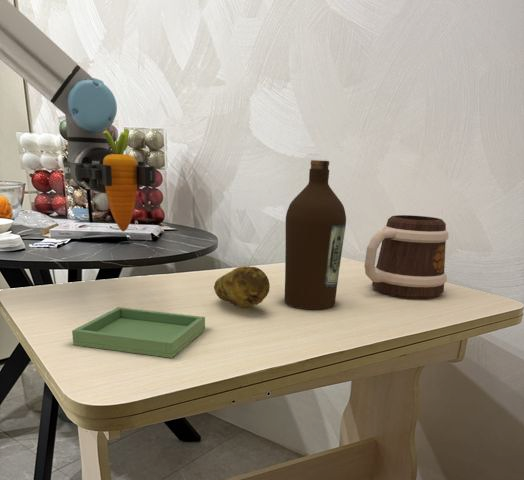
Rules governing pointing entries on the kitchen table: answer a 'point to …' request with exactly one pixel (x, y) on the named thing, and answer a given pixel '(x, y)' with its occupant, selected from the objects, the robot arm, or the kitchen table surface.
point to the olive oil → (314, 243)
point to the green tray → (140, 331)
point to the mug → (408, 257)
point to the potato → (243, 286)
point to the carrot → (121, 181)
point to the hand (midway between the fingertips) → (128, 176)
